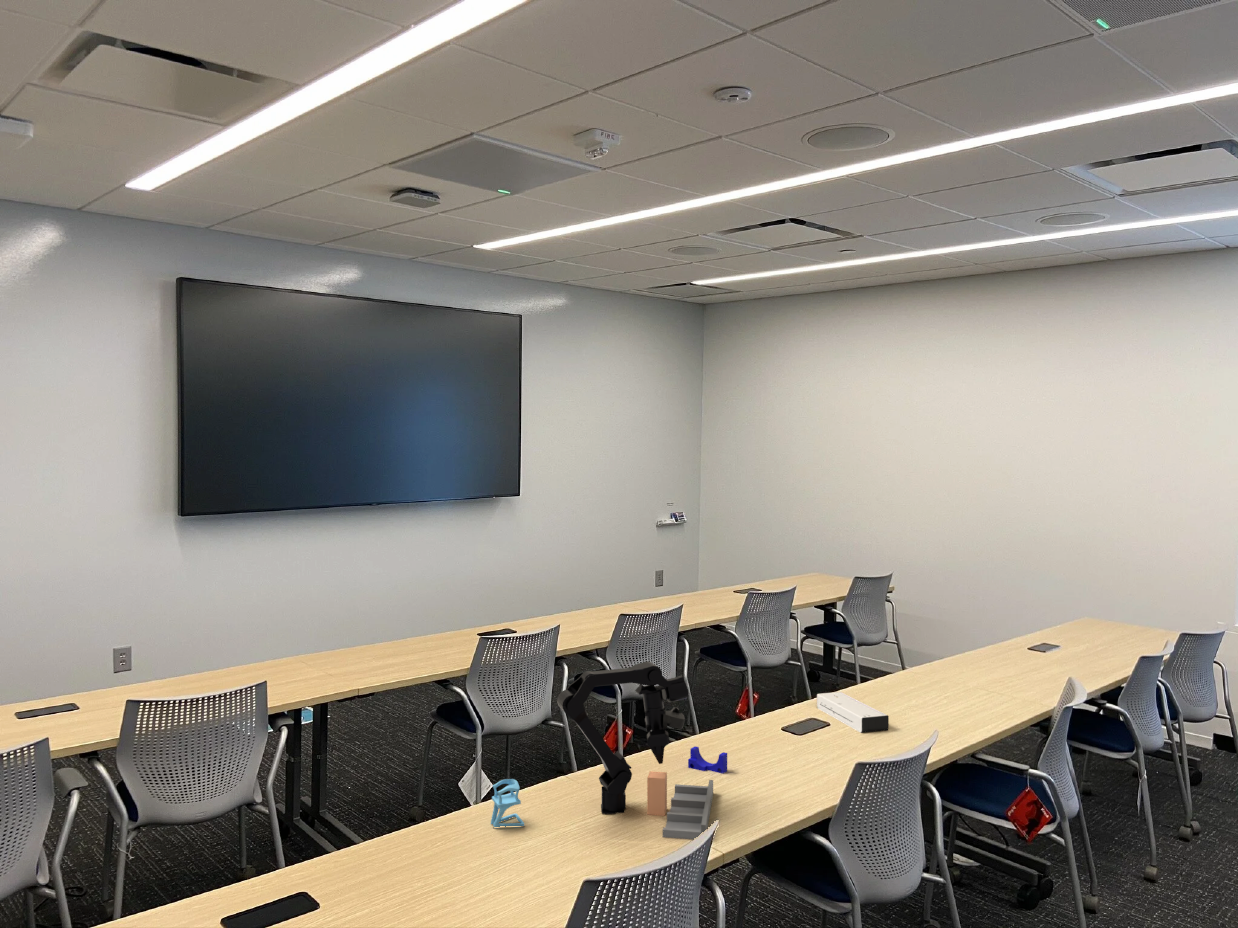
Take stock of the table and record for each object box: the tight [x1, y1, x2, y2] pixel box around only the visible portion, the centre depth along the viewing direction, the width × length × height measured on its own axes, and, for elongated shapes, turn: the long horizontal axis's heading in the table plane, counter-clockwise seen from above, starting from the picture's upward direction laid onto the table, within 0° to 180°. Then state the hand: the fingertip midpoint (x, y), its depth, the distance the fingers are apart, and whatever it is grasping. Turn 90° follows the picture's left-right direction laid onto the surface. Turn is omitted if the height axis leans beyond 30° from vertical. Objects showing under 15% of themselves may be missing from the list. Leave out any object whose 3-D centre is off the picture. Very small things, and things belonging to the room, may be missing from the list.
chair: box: [490, 778, 525, 827], centre depth 247 cm, size 8×8×12 cm
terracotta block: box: [646, 770, 668, 817], centre depth 254 cm, size 5×5×11 cm
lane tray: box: [662, 779, 714, 840], centre depth 253 cm, size 12×33×4 cm, turn 170°
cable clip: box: [687, 745, 728, 774], centre depth 290 cm, size 12×4×6 cm, turn 56°
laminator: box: [816, 691, 890, 734], centre depth 345 cm, size 34×12×6 cm, turn 16°
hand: (659, 757), depth 261 cm, fingers open, 9 cm apart
